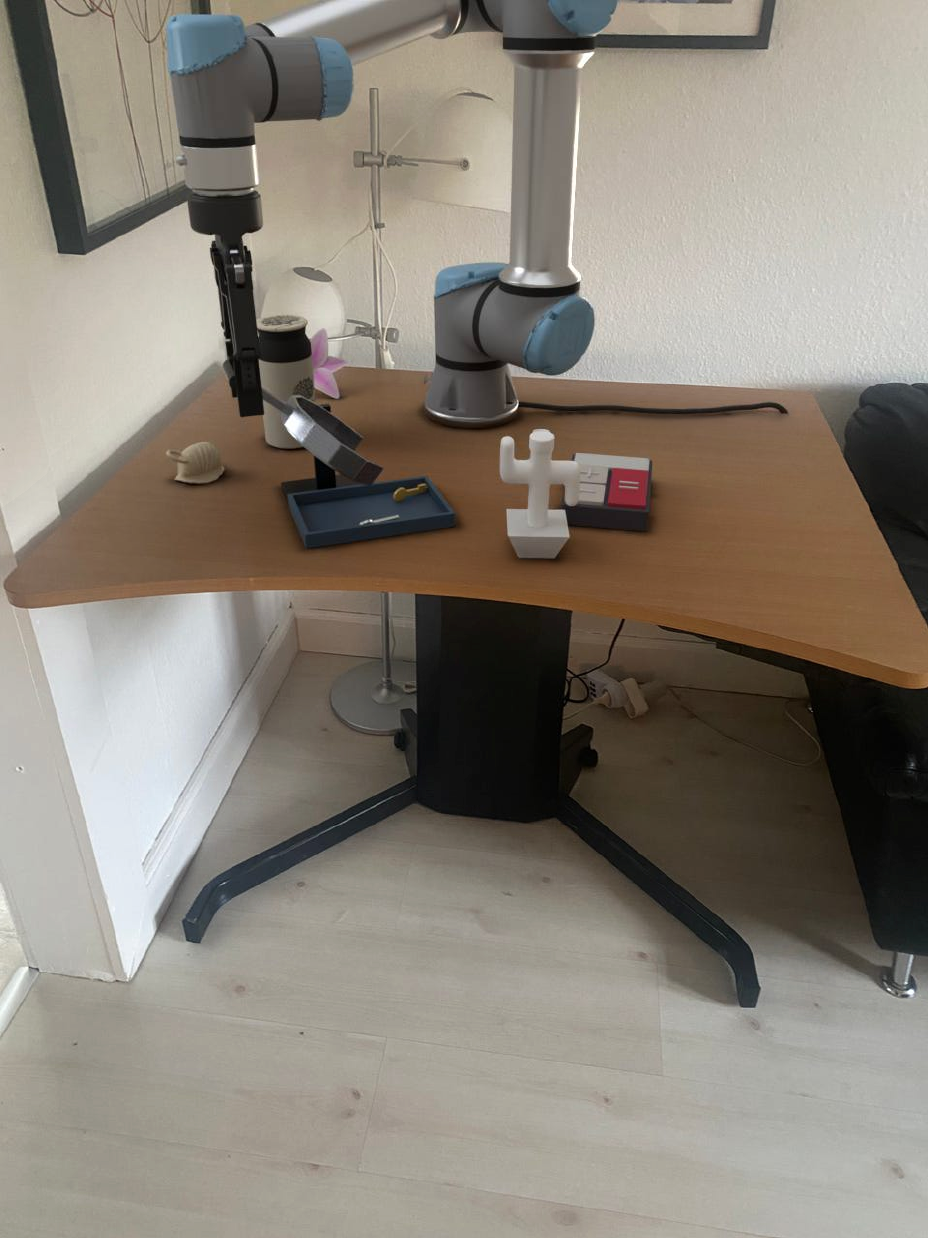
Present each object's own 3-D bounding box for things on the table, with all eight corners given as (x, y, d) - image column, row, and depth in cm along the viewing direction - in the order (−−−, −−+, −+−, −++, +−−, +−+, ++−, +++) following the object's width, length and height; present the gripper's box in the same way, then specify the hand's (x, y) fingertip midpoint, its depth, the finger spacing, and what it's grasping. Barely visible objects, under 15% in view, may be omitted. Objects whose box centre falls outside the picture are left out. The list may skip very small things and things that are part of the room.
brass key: (396, 490, 125) (395, 488, 125) (393, 502, 126) (391, 501, 126) (428, 483, 129) (427, 481, 129) (425, 495, 130) (423, 493, 130)
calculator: (561, 498, 120) (573, 447, 132) (559, 528, 123) (571, 475, 135) (649, 506, 119) (653, 454, 131) (646, 536, 121) (649, 482, 133)
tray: (427, 488, 131) (427, 475, 130) (455, 526, 122) (455, 513, 121) (288, 506, 126) (287, 493, 125) (306, 548, 116) (304, 534, 115)
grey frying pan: (354, 455, 127) (368, 436, 126) (382, 501, 115) (397, 480, 115) (211, 362, 115) (225, 341, 114) (226, 402, 103) (242, 379, 102)
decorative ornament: (232, 476, 134) (227, 440, 132) (176, 491, 130) (170, 455, 127) (218, 467, 137) (213, 431, 134) (163, 482, 132) (157, 445, 130)
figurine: (576, 564, 114) (586, 446, 106) (497, 563, 114) (501, 444, 106) (571, 536, 120) (580, 422, 112) (496, 535, 120) (500, 421, 112)
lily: (263, 403, 162) (267, 362, 154) (283, 357, 169) (289, 315, 161) (330, 425, 164) (339, 386, 156) (349, 379, 170) (357, 339, 162)
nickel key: (355, 529, 119) (357, 532, 119) (359, 521, 118) (361, 524, 118) (395, 520, 122) (396, 522, 122) (399, 512, 120) (400, 514, 120)
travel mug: (256, 438, 146) (242, 319, 137) (301, 426, 150) (291, 310, 141) (282, 454, 141) (269, 332, 131) (328, 441, 145) (319, 322, 136)
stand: (359, 478, 134) (355, 392, 127) (368, 492, 130) (364, 404, 123) (281, 488, 131) (272, 400, 124) (288, 503, 127) (278, 413, 120)
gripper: (178, 177, 105) (206, 382, 118) (195, 206, 90) (225, 437, 103) (246, 175, 107) (267, 376, 120) (274, 203, 92) (294, 430, 105)
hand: (247, 404), depth 111 cm, fingers closed on grey frying pan, 6 cm apart
